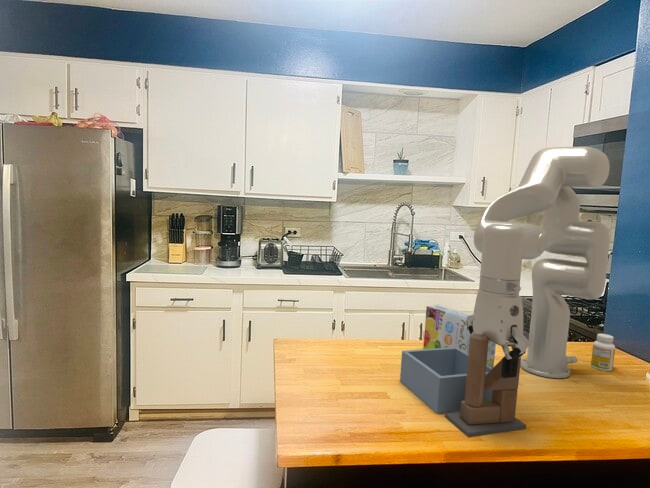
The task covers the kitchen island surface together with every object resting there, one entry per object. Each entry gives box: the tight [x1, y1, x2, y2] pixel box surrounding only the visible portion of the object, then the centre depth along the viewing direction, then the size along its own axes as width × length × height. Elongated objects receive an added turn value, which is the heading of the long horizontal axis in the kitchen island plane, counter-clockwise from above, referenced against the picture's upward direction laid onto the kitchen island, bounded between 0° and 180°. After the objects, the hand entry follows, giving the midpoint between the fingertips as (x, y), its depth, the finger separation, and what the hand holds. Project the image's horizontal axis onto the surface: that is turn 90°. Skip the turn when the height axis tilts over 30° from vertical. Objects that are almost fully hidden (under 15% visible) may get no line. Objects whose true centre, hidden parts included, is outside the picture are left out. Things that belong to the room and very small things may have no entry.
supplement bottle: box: [590, 333, 616, 372], centre depth 125 cm, size 5×5×10 cm
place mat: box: [444, 411, 527, 438], centre depth 90 cm, size 14×8×1 cm, turn 108°
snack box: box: [422, 304, 497, 368], centre depth 123 cm, size 21×6×15 cm, turn 34°
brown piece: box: [459, 334, 522, 425], centre depth 89 cm, size 4×11×18 cm, turn 102°
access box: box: [399, 347, 493, 415], centre depth 103 cm, size 16×17×8 cm
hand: (492, 367), depth 89 cm, fingers open, 9 cm apart
